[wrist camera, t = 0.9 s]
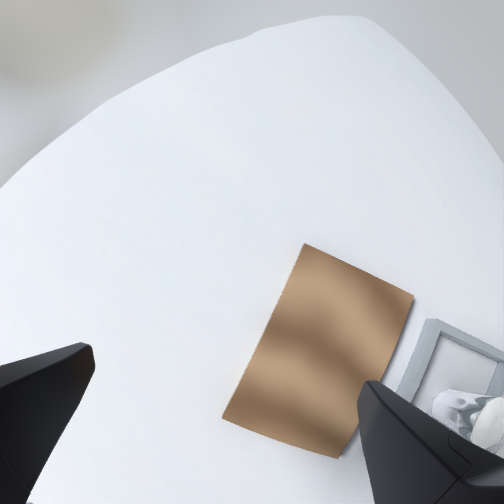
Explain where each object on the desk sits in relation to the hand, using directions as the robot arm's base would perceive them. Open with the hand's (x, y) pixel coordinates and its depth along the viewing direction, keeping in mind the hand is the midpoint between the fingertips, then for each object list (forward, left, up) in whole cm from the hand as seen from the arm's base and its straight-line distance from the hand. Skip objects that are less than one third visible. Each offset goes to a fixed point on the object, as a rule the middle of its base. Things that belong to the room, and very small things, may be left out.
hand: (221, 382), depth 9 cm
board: (+1, -7, -16) cm, 17 cm away
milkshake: (+1, -22, -16) cm, 27 cm away
